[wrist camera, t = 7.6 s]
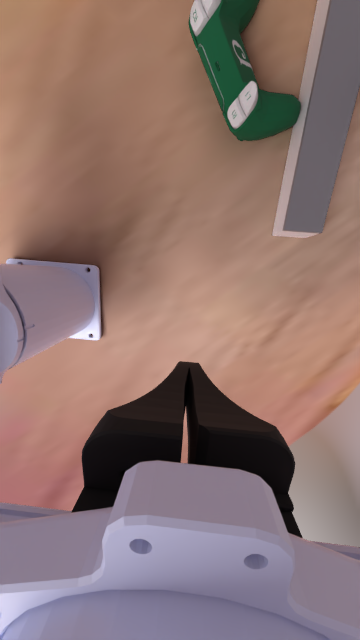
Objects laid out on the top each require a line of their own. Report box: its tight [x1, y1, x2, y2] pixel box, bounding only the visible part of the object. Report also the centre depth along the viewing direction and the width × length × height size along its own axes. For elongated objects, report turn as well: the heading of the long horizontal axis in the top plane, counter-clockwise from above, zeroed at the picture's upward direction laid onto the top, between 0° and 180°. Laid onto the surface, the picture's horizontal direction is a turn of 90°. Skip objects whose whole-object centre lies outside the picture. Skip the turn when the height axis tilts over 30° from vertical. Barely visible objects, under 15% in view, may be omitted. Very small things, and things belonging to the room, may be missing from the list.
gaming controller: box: [189, 0, 301, 141], centre depth 13 cm, size 9×4×6 cm
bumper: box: [272, 0, 360, 238], centre depth 14 cm, size 3×16×2 cm, turn 175°
